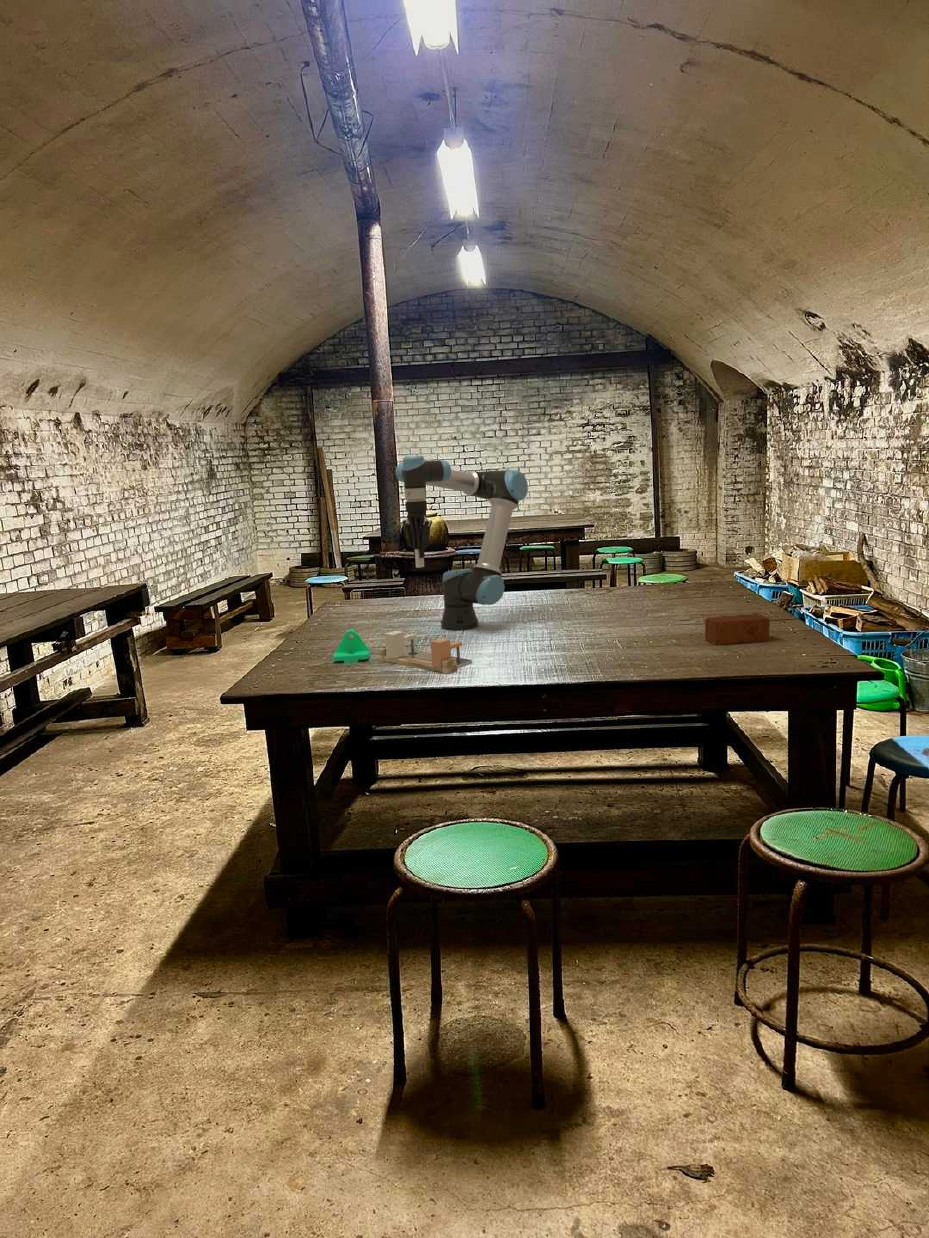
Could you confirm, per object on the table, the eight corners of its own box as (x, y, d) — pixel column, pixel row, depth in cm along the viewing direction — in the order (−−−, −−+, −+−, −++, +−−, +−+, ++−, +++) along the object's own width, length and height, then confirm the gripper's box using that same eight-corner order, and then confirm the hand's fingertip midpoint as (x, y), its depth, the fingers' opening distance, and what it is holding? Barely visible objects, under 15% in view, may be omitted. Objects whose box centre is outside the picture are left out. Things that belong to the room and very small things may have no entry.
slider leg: (456, 658, 256) (454, 634, 254) (465, 660, 253) (463, 635, 252) (432, 666, 248) (430, 641, 246) (441, 668, 245) (439, 642, 243)
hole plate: (413, 652, 274) (413, 649, 274) (472, 663, 256) (471, 659, 255) (396, 657, 268) (396, 654, 268) (455, 668, 250) (455, 665, 250)
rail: (390, 657, 268) (389, 646, 268) (456, 670, 247) (456, 658, 247) (379, 660, 265) (378, 649, 264) (446, 674, 244) (445, 662, 243)
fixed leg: (410, 650, 270) (409, 627, 269) (418, 651, 268) (417, 628, 266) (386, 657, 262) (384, 633, 260) (394, 659, 259) (392, 634, 258)
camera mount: (333, 664, 264) (331, 635, 262) (336, 658, 272) (333, 630, 269) (368, 662, 265) (366, 632, 263) (370, 656, 272) (367, 628, 270)
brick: (770, 617, 262) (769, 641, 264) (758, 612, 270) (757, 636, 272) (715, 622, 260) (715, 646, 261) (704, 616, 268) (704, 640, 270)
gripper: (395, 501, 272) (399, 567, 277) (421, 501, 263) (425, 569, 268) (410, 499, 277) (414, 564, 282) (436, 499, 269) (440, 566, 274)
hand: (420, 567), depth 275 cm, fingers closed
